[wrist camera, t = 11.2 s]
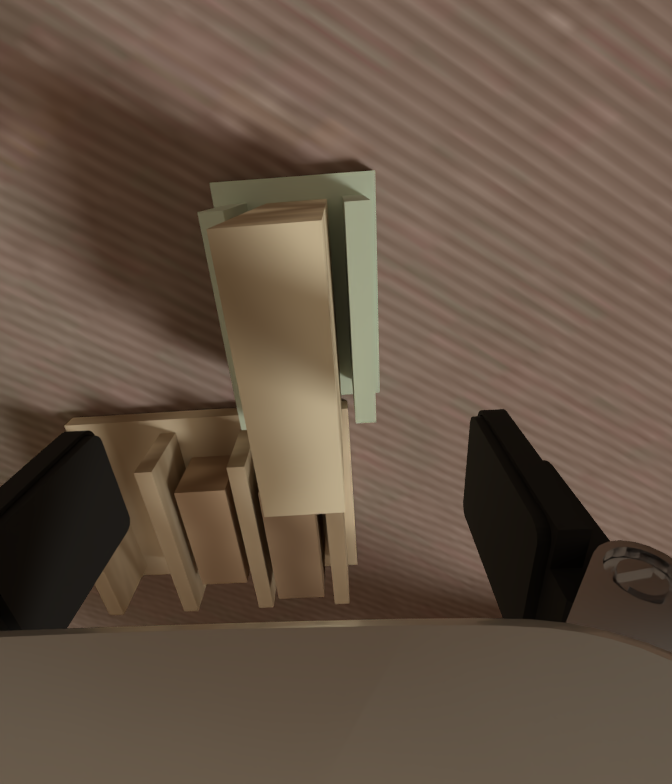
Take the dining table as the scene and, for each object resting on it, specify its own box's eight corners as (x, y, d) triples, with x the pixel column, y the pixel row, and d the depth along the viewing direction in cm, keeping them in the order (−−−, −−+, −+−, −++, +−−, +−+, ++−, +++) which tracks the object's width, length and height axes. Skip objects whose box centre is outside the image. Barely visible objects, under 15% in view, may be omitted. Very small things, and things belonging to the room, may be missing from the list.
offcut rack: (347, 400, 27) (350, 445, 22) (356, 554, 33) (360, 612, 29) (72, 417, 27) (22, 464, 23) (134, 565, 34) (104, 624, 29)
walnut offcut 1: (236, 454, 28) (224, 490, 24) (255, 541, 31) (247, 582, 28) (191, 457, 28) (173, 493, 25) (215, 544, 31) (202, 584, 28)
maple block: (327, 198, 20) (321, 220, 11) (340, 381, 25) (345, 512, 15) (266, 203, 21) (206, 229, 11) (290, 384, 25) (264, 516, 15)
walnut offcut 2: (314, 443, 27) (311, 490, 23) (325, 542, 31) (324, 596, 27) (268, 446, 27) (257, 493, 23) (285, 545, 31) (278, 598, 27)
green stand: (373, 170, 21) (387, 169, 16) (377, 385, 26) (389, 438, 21) (214, 182, 21) (174, 185, 16) (252, 392, 27) (232, 447, 21)
